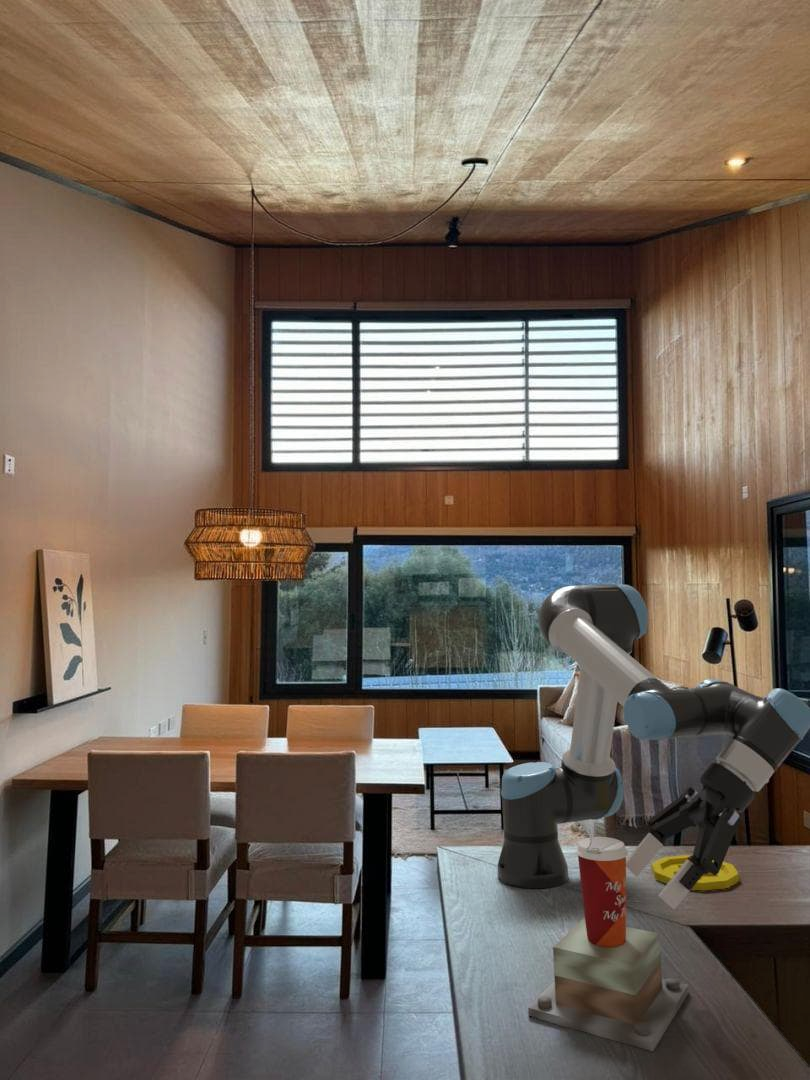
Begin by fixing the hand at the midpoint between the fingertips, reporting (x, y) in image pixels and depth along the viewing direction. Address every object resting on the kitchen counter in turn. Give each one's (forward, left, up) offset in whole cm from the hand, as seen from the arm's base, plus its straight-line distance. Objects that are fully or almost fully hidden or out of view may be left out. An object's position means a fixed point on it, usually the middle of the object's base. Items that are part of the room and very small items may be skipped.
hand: (646, 885), depth 120 cm
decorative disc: (-8, +56, -17) cm, 59 cm away
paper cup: (-5, -4, -8) cm, 10 cm away
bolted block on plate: (-5, -4, -17) cm, 18 cm away
